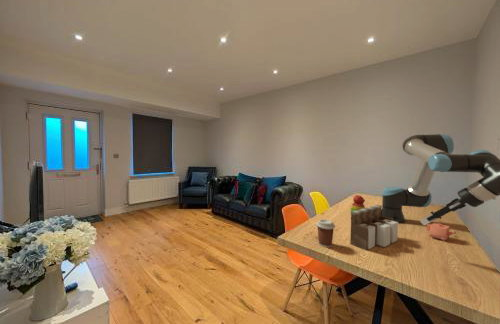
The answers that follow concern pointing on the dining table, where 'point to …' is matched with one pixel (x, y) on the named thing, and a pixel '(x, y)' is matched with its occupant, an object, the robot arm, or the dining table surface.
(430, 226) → the pink cube teapot
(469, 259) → the dining table surface
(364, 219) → the brown slotted rack
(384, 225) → the key two
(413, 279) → the dining table surface
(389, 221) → the key one
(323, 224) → the coffee cup
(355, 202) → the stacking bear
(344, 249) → the dining table surface
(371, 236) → the key three
